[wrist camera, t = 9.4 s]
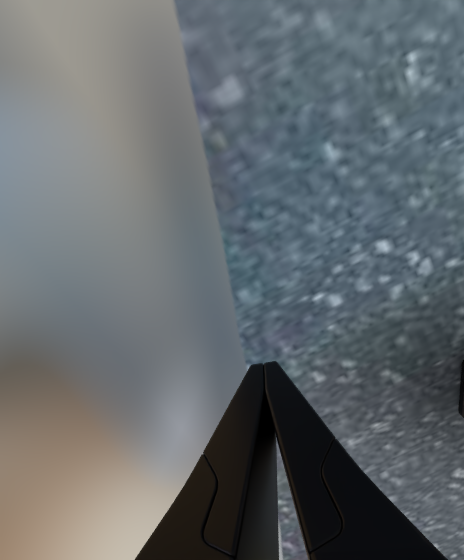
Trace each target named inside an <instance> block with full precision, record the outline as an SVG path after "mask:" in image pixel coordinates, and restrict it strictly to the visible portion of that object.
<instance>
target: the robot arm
mask: <svg viewBox="0 0 464 560" xmlns="http://www.w3.org/2000/svg"><path fill="white" fill-rule="evenodd" d="M459 413H460V414H461V416H462V417H463V418H464V360H463V362H462V372H461V386H460V400H459ZM276 437H277V441H278V445H279V449H280V453H281V457H282V460H283V464H284V468H285V472H286V476H287V480H288V484H289V487H290V491H291V495H292V499H293V503H294V507H295V510H296V514H297V518H298V522H299V526H300V530H301V534H302V537H303V541H304V545H305V549H306V553H307V557H308V560H448V559H447V558H446V557H445V556H444V555H443V554H442V553H441V552H440V551H439V550H438V549H437V548H436V547H435V546H434V545H433V544H432V543H431V542H430V541H429V540H428V539H427V538H426V537H425V536H424V535H423V534H422V533H421V532H420V531H419V530H418V529H417V528H416V527H415V526H414V525H413V524H412V523H411V522H410V521H409V519H408V518H407V517H406V516H405V515H404V514H403V513H402V512H401V511H400V510H399V509H398V508H397V507H396V506H395V505H394V504H393V503H392V502H391V501H390V500H389V499H388V498H387V497H386V496H385V495H384V494H383V493H382V491H381V490H380V489H379V488H378V487H377V486H376V485H375V484H374V483H373V482H372V481H371V480H370V478H369V477H368V476H367V475H366V474H365V473H364V472H363V471H362V470H361V469H360V467H359V466H358V465H357V464H356V463H355V461H354V460H353V459H352V458H351V456H350V455H349V454H348V453H347V452H346V450H345V449H344V448H343V446H342V445H341V444H340V443H339V441H338V440H337V439H335V436H334V435H333V434H332V432H331V431H330V430H329V429H328V427H327V426H326V425H325V423H324V422H323V421H322V419H321V418H320V417H319V416H318V414H317V413H316V412H315V410H314V409H313V408H312V407H311V405H310V404H309V403H308V401H307V400H306V399H305V397H304V396H303V395H302V394H301V392H300V391H299V390H298V388H297V387H296V386H295V384H294V383H293V382H292V381H291V379H290V378H289V377H288V375H287V374H286V373H285V372H284V370H283V369H282V368H281V366H280V365H279V364H278V363H277V362H276V361H272V362H266V363H264V364H262V363H260V364H253V365H251V366H250V367H249V369H248V371H247V373H246V375H245V377H244V378H243V380H242V382H241V384H240V386H239V388H238V389H237V391H236V394H235V395H234V397H233V399H232V400H231V402H230V404H229V406H228V408H227V410H226V412H225V413H224V415H223V417H222V419H221V421H220V422H219V425H218V426H217V428H216V430H215V432H214V434H213V435H212V437H211V439H210V441H209V443H208V444H207V446H206V448H205V450H204V452H203V455H201V457H200V459H199V461H198V462H197V464H196V466H195V468H194V470H193V471H192V473H191V475H190V477H189V478H188V480H187V482H186V483H185V485H184V487H183V488H182V490H181V491H180V493H179V494H178V496H177V497H176V499H175V501H174V502H173V504H172V505H171V507H170V508H169V510H168V511H167V513H166V514H165V516H164V517H163V519H162V520H161V522H160V523H159V525H158V526H157V528H156V529H155V531H154V532H153V533H152V535H151V536H150V538H149V539H148V541H147V542H146V544H145V545H144V547H143V548H142V550H141V551H140V553H139V554H138V555H137V557H136V559H135V560H279V543H278V542H279V541H278V497H277V453H276Z"/></svg>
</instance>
